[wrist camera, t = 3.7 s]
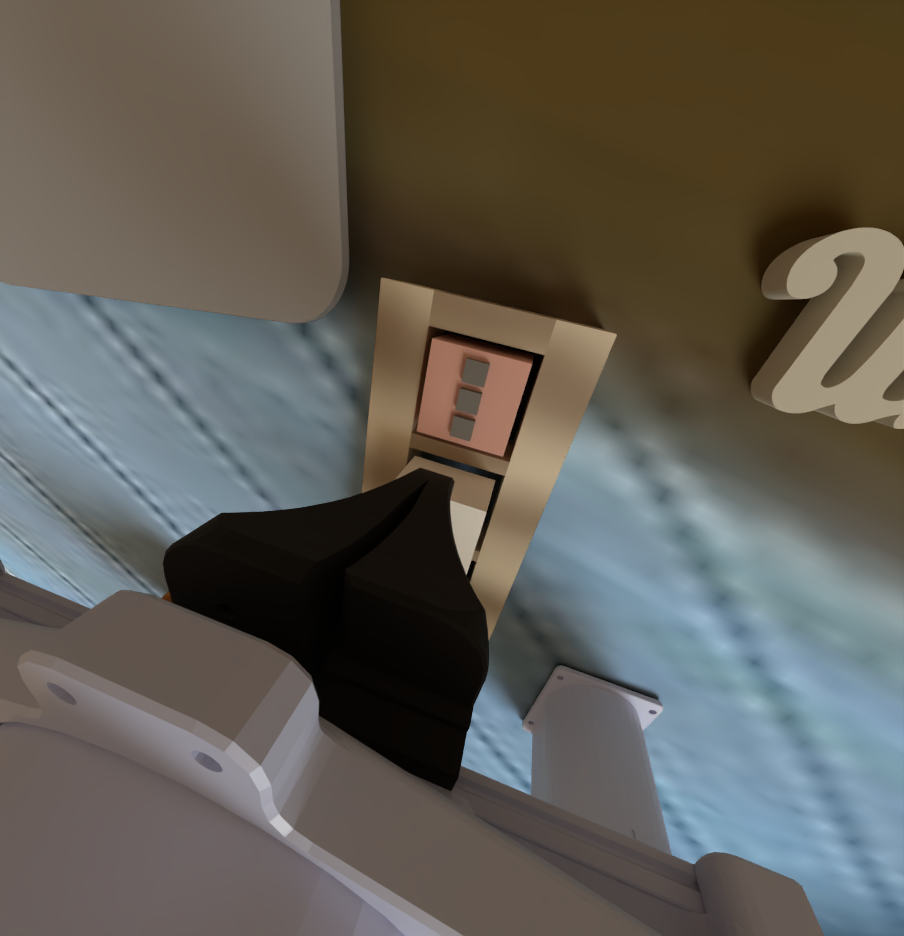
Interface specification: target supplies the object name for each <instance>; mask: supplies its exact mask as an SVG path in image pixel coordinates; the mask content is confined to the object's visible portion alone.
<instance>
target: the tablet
mask: <svg viewBox="0 0 904 936" xmlns="http://www.w3.org/2000/svg"><path fill="white" fill-rule="evenodd" d="M348 271H349V238H348V211H347V183H346V156H345V129H344V101H343V74H342V47H341V19H340V0H0V281H1V282H4V283H6V284H10V285H17V286H24V287H31V288H39V289H46V290H53V291H60V292H68V293H75V294H82V295H90V296H97V297H104V298H112V299H119V300H126V301H133V302H141V303H148V304H155V305H163V306H170V307H177V308H185V309H192V310H199V311H206V312H214V313H221V314H228V315H236V316H243V317H250V318H258V319H265V320H272V321H279V322H287V323H305V322H311V321H315V320H318V319H320V318H322V317H324V316H325V315H327V314H328V313H329V312H330V311H331V310H332V309H333V308H334V307H335V306H336V304H337V303H338V301H339V300H340V298H341V296H342V294H343V292H344V289H345V286H346V282H347V278H348Z"/></svg>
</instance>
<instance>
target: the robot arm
mask: <svg viewBox="0 0 904 936" xmlns="http://www.w3.org/2000/svg"><path fill="white" fill-rule="evenodd" d="M454 483H455V481H454V479H453V478H452V477H449V476H445V475H442V474H439V473H436V472H433V471H430V470H426V469H423V468H418V469H416V470H414V471H412V472H410V473H408V474H406V475H404V476H402V477H400V478H398V479H395V480H393V481H391V482H389V483H387V484H384V485H382V486H379V487H377V488H374V489H372V490H369V491H366V492H364V493H361V494H358V495H355V496H352V497H348V498H345V499H341V500H337V501H333V502H328V503H323V504H318V505H313V506H308V507H302V508H294V509H286V510H276V511H264V512H239V513H221V514H219V515H217V516H216V517H214V518H213V519H211V520H209V521H208V522H206V523H205V524H203V525H202V526H200V527H198V528H197V529H195V530H194V531H192V532H191V533H189V534H187V535H186V536H184V537H183V538H181V539H179V540H178V541H176V542H175V543H173V544H172V545H171V546H170V547H169V548H168V549H167V550H166V553H165V557H164V561H163V566H164V574H165V578H166V582H167V585H168V589H169V592H170V596H171V600H172V603H171V602H169V601H166V600H164V599H161V598H159V597H156V596H154V595H151V594H146V593H141V592H136V591H132V590H120V591H118V592H116V593H115V594H113V595H112V596H110V597H108V598H107V599H105V600H104V601H102V602H101V603H99V604H98V605H96V606H95V607H93V608H92V609H90V608H87V607H85V606H83V605H80V604H78V603H76V602H73V601H71V600H68V599H66V598H64V597H61V596H59V595H57V594H54V593H52V592H50V591H47V590H45V589H42V588H40V587H38V586H35V585H33V584H31V583H28V582H26V581H24V580H21V579H19V578H17V577H14V576H12V575H9V574H7V573H5V568H4V566H3V564H2V562H1V560H0V936H824V934H823V932H822V930H821V928H820V926H819V923H818V921H817V919H816V917H815V914H814V912H813V910H812V908H811V905H810V903H809V901H808V899H807V896H806V894H805V892H804V890H803V888H802V886H801V885H800V884H799V883H797V882H796V881H795V880H793V879H791V878H788V877H786V876H784V875H781V874H779V873H776V872H774V871H771V870H769V869H767V868H764V867H762V866H759V865H757V864H755V863H752V862H750V861H747V860H745V859H743V858H740V857H738V856H735V855H731V854H728V853H719V852H713V853H709V854H706V855H704V856H702V857H701V858H700V859H699V860H698V861H697V862H696V863H695V864H691V863H689V862H687V861H684V860H682V859H679V858H677V857H675V856H672V854H671V849H670V845H669V841H668V837H667V832H666V828H665V824H664V819H663V815H662V811H661V807H660V802H659V798H658V794H657V790H656V785H655V781H654V777H653V772H652V768H651V764H650V760H649V755H648V751H647V747H646V742H645V738H644V734H643V730H644V729H645V728H646V727H647V726H648V725H649V724H650V723H651V722H652V721H653V720H654V719H655V718H656V717H657V716H658V715H659V714H660V713H661V712H662V711H663V706H662V703H661V702H660V701H658V700H656V699H653V698H650V697H648V696H645V695H642V694H639V693H637V692H634V691H631V690H628V689H626V688H623V687H620V686H618V685H615V684H612V683H609V682H607V681H604V680H601V679H598V678H596V677H593V676H590V675H587V674H585V673H582V672H579V671H576V670H574V669H571V668H568V667H565V666H562V665H560V666H557V667H556V668H555V670H554V671H553V673H552V675H551V676H550V678H549V680H548V681H547V683H546V684H545V686H544V688H543V689H542V691H541V693H540V694H539V696H538V698H537V699H536V701H535V702H534V704H533V706H532V707H531V709H530V711H529V712H528V714H527V716H526V717H525V719H524V720H523V722H522V728H523V729H524V730H525V731H527V732H530V733H532V734H533V737H532V777H531V795H528V794H526V793H524V792H521V791H519V790H517V789H514V788H512V787H510V786H507V785H505V784H503V783H500V782H498V781H495V780H493V779H491V778H488V777H486V776H484V775H481V774H479V773H477V772H474V771H472V770H470V769H467V768H465V767H462V766H461V761H462V756H463V750H464V745H465V739H466V734H467V731H468V729H469V727H470V723H471V717H472V712H473V706H474V703H475V701H476V699H477V697H478V695H479V693H480V690H481V688H482V686H483V684H484V682H485V679H486V676H487V672H488V666H489V638H488V627H487V619H486V611H485V609H484V607H483V606H482V604H481V602H480V601H479V599H478V597H477V595H476V594H475V592H474V590H473V588H472V586H471V584H470V582H469V580H468V577H467V575H466V573H465V570H464V568H463V565H462V562H461V560H460V557H459V554H458V551H457V547H456V544H455V539H454V535H453V529H452V522H451V512H450V498H451V494H452V490H453V487H454Z"/></svg>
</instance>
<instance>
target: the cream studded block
mask: <svg viewBox="0 0 904 936" xmlns="http://www.w3.org/2000/svg"><path fill="white" fill-rule="evenodd" d="M418 468H423V469H426V470H430V471H433V472H436V473H439V474H442V475H445V476H449V477H452V478H453V479H454V481H455V483H454V487H453V490H452V494H451V498H450V512H451V522H452V529H453V535H454V539H455V544H456V547H457V551H458V554H459V557H460V560H461V562H462V565H463V568H464V570H465V573H466V575H467V572H468V569H469V566H470V563H471V560H472V557H473V554H474V550H475V547H476V544H477V541H478V538H479V535H480V532H481V528H482V525H483V522H484V519H485V516H486V513H487V509H488V505H489V502H490V498H491V495H492V491H493V487H494V484H495V480H493V479H489V478H486V477H483V476H479V475H476V474H473V473H470V472H466V471H463V470H460V469H457V468H453V467H450V466H447V465H443V464H440V463H437V462H434V461H430V460H427V459H424V458H421V457H417V456H414V458H413V459H412V460H411V461H410V462H409V463H408V465H407V466H406V467H405V468H404V469H403V470H402V472H401V473H400V474H399V475H398V476H397V477H396V479H398V478H400V477H402V476H404V475H406V474H408V473H410V472H412V471H414V470H416V469H418Z"/></svg>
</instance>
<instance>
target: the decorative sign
mask: <svg viewBox="0 0 904 936" xmlns="http://www.w3.org/2000/svg"><path fill="white" fill-rule="evenodd" d="M903 269H904V246H903V245H902V243H901V241H900V240H899V239H898V238H897V237H895V236H894V235H893V234H891V233H889V232H887V231H884V230H881V229H876V228H855V229H850V230H845V231H841V232H837V233H833V234H829V235H825V236H821V237H817V238H813V239H809V240H806V241H804V242H801V243H798V244H796V245H794V246H793V247H791V248H789V249H787V250H786V251H784V252H783V253H781V254H780V255H779V256H778V257H777V258H775V259H774V261H773V262H772V263H771V264H770V265H769V266H768V268H767V269H766V271H765V273H764V275H763V279H762V282H761V290H762V293H763V295H764V296H765V297H766V298H768V299H773V300H782V299H808V298H811V299H810V300H809V302H808V303H807V305H806V306H805V307H804V309H803V310H802V312H801V313H800V314H799V316H798V317H797V319H796V320H795V321H794V323H793V324H792V326H791V327H790V328H789V330H788V331H787V333H786V334H785V335H784V337H783V338H782V340H781V341H780V342H779V344H778V345H777V347H776V348H775V349H774V351H773V352H772V354H771V355H770V356H769V358H768V359H767V361H766V362H765V363H764V365H763V366H762V368H761V369H760V370H759V372H758V373H757V375H756V376H755V377H754V379H753V380H752V382H751V387H750V389H751V394H752V396H753V397H754V398H755V399H756V400H758V401H760V402H762V403H765V404H767V405H769V406H771V407H774V408H776V409H778V410H780V411H783V412H788V413H804V412H809V411H813V410H815V411H817V412H820V413H822V414H825V415H828V416H830V417H833V418H835V419H838V420H841V421H843V422H846V423H852V424H857V423H865V422H869V421H875V422H878V423H881V424H884V425H887V426H890V427H893V428H896V429H904V279H900V277H901V274H902V272H903Z"/></svg>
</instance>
